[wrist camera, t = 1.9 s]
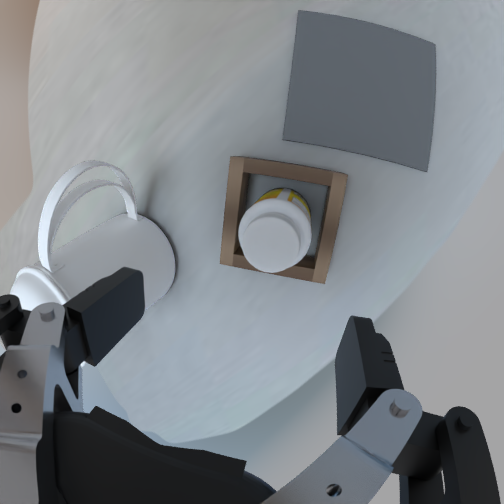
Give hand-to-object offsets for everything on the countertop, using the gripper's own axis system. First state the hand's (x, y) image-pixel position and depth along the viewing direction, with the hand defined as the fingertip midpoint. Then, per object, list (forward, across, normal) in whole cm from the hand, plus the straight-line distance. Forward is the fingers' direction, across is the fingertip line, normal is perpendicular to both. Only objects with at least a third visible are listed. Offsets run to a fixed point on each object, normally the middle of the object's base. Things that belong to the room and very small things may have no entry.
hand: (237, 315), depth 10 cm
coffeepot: (+18, +16, +8) cm, 25 cm away
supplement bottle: (+18, 0, 0) cm, 18 cm away
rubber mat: (+18, -6, -14) cm, 23 cm away
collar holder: (+18, 0, 0) cm, 18 cm away
